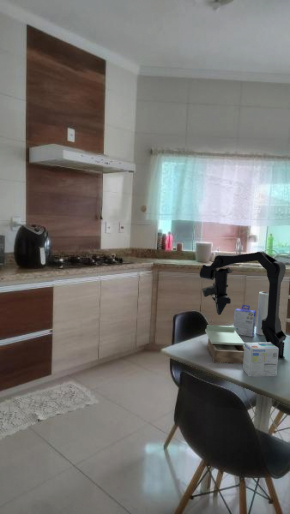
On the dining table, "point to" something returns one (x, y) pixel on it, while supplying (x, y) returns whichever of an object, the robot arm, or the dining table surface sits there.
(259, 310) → the paper towel roll
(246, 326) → the ink cartridge box
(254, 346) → the light bulb box
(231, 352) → the box
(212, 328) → the lid
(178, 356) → the dining table surface
